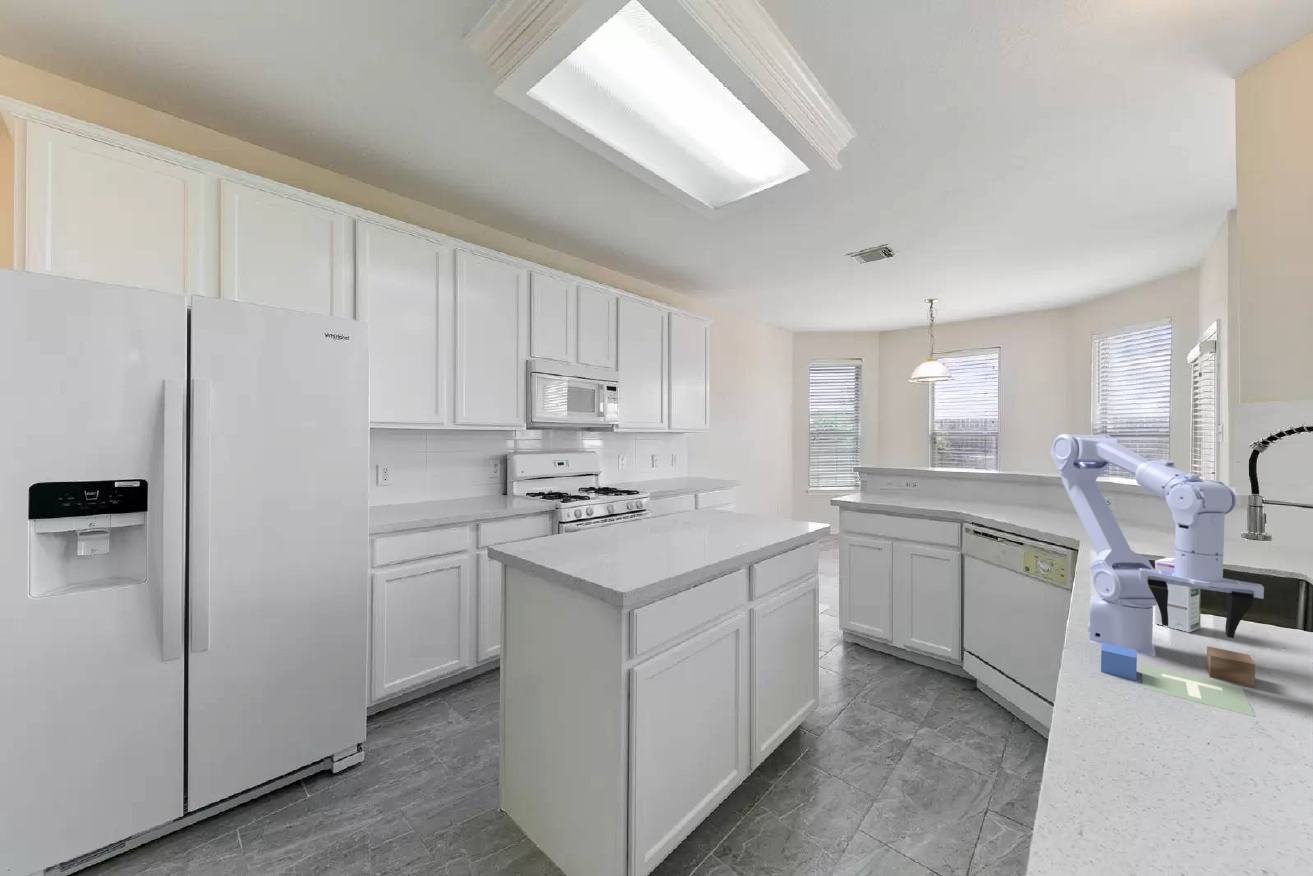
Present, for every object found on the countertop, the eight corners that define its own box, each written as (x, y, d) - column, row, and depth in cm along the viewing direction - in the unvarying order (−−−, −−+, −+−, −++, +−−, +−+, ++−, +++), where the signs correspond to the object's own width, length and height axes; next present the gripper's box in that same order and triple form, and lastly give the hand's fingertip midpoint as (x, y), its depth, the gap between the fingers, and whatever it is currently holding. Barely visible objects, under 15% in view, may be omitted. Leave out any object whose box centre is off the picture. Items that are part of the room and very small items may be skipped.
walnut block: (1209, 681, 87) (1210, 655, 87) (1206, 671, 91) (1207, 646, 91) (1254, 691, 84) (1255, 664, 84) (1249, 680, 88) (1249, 654, 87)
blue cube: (1100, 675, 89) (1101, 650, 89) (1101, 667, 92) (1102, 642, 92) (1136, 684, 86) (1136, 658, 86) (1135, 675, 89) (1136, 649, 89)
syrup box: (1190, 633, 108) (1192, 565, 107) (1153, 624, 113) (1154, 558, 112) (1200, 629, 110) (1202, 562, 110) (1164, 619, 115) (1165, 556, 115)
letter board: (1142, 691, 83) (1142, 688, 83) (1141, 667, 92) (1141, 663, 92) (1255, 720, 75) (1255, 716, 75) (1241, 690, 84) (1242, 686, 84)
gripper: (1141, 548, 89) (1139, 625, 90) (1269, 563, 80) (1266, 649, 80) (1139, 542, 95) (1137, 614, 95) (1259, 555, 85) (1256, 636, 85)
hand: (1196, 630), depth 88 cm, fingers open, 7 cm apart
